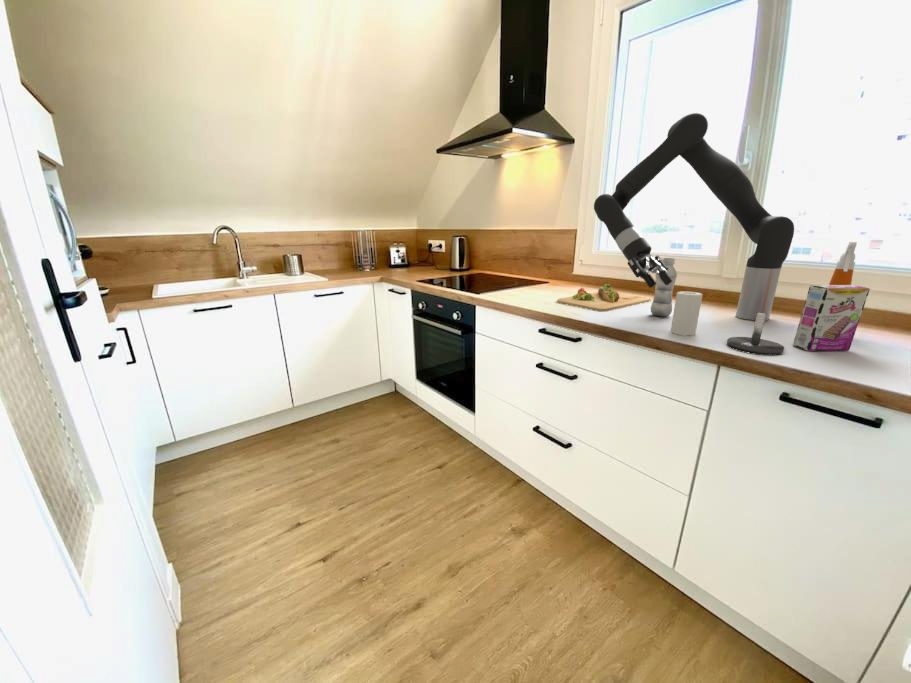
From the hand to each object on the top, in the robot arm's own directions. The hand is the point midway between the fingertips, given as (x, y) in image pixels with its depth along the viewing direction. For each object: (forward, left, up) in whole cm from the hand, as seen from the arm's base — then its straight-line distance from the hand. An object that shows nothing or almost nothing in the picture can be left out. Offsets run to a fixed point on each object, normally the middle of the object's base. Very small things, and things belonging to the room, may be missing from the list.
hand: (661, 284), depth 118 cm
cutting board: (-21, -35, -14) cm, 43 cm away
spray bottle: (-32, +33, -14) cm, 48 cm away
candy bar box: (-14, +37, -14) cm, 42 cm away
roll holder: (-1, +27, -13) cm, 30 cm away
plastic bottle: (-15, -7, -14) cm, 21 cm away
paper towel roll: (0, +9, -13) cm, 16 cm away
